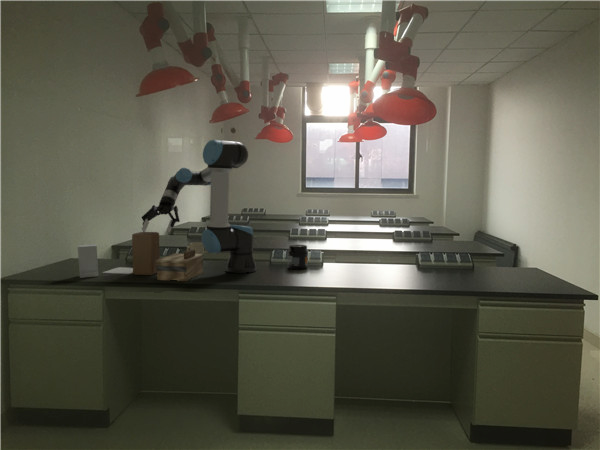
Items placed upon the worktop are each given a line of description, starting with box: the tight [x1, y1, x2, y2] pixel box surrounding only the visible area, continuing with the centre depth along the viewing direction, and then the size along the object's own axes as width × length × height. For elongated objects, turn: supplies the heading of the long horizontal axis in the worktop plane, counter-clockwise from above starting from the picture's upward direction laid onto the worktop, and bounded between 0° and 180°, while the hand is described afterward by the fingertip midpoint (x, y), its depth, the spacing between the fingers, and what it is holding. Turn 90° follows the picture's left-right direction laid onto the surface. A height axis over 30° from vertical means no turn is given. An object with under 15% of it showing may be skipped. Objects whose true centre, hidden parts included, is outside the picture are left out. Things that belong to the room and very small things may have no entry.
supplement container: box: [287, 244, 309, 271], centre depth 242 cm, size 10×10×12 cm
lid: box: [156, 249, 204, 264], centre depth 217 cm, size 15×21×4 cm
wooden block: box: [131, 231, 161, 276], centre depth 223 cm, size 10×10×20 cm
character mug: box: [186, 241, 208, 255], centre depth 240 cm, size 11×7×13 cm, turn 85°
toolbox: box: [156, 257, 204, 282], centre depth 218 cm, size 14×21×8 cm
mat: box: [102, 266, 133, 275], centre depth 229 cm, size 14×14×1 cm
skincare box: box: [77, 243, 99, 279], centre depth 215 cm, size 8×6×15 cm
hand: (155, 231), depth 233 cm, fingers open, 13 cm apart
